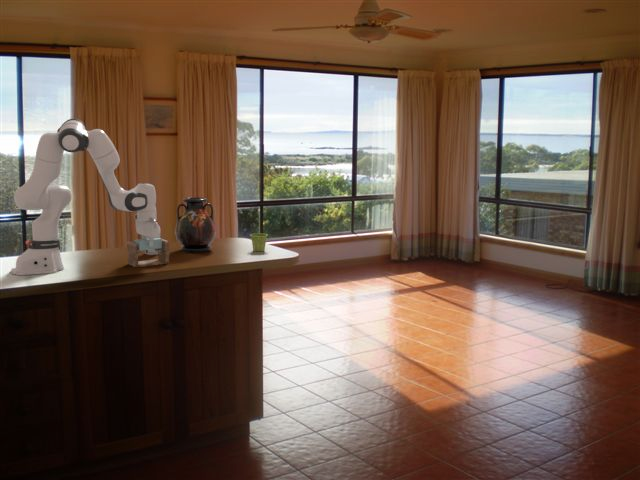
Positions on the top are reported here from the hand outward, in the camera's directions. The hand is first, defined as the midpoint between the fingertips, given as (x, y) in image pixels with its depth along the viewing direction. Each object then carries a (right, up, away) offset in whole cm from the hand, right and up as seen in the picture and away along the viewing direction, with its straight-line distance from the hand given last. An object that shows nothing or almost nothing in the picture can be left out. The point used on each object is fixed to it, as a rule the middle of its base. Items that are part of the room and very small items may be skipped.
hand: (148, 245), depth 333 cm
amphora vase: (+16, -3, +39) cm, 42 cm away
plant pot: (+50, -3, +39) cm, 64 cm away
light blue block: (0, -2, 0) cm, 2 cm away
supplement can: (-4, -5, +28) cm, 28 cm away
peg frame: (0, -9, +2) cm, 9 cm away
